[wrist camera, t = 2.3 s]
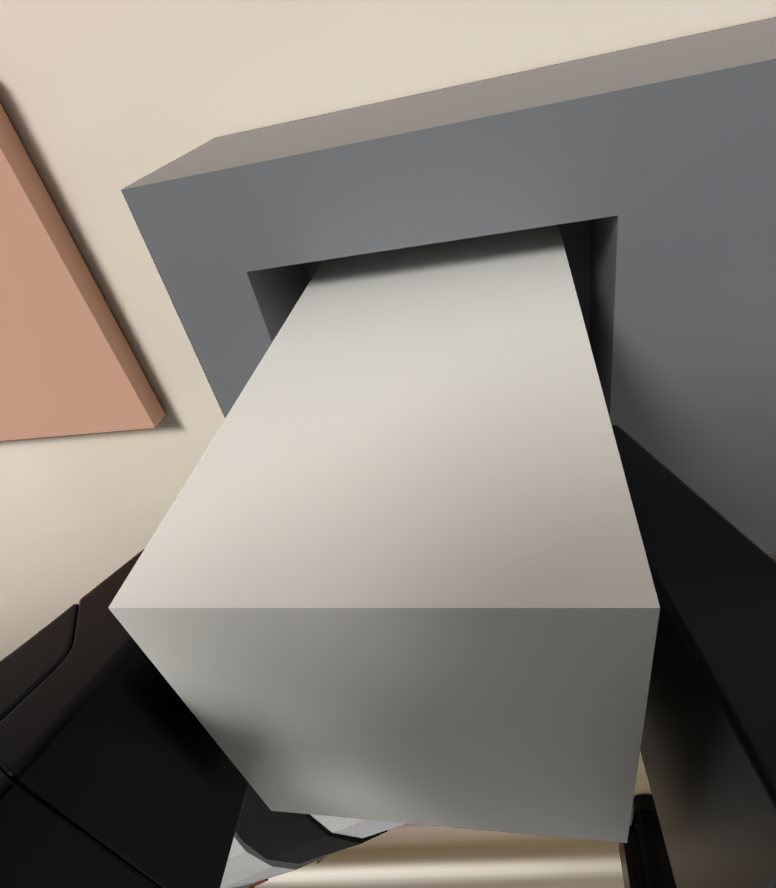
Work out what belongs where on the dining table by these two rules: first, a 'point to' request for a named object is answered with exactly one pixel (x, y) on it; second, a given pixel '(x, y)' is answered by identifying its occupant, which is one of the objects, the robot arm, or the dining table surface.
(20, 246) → the coaster
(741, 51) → the grey hollow box
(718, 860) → the robot arm
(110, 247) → the dining table surface
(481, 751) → the white block
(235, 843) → the cable
